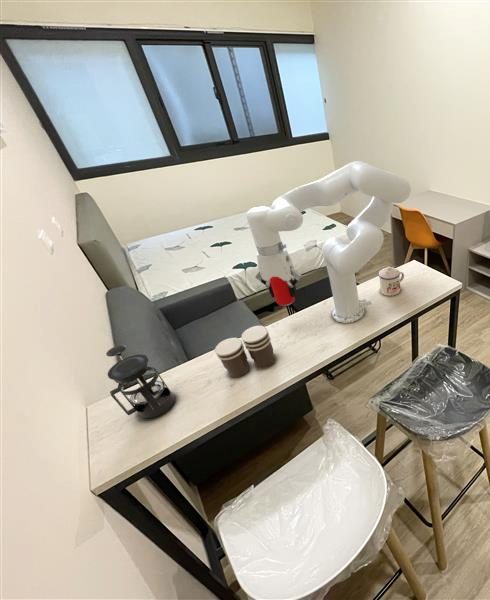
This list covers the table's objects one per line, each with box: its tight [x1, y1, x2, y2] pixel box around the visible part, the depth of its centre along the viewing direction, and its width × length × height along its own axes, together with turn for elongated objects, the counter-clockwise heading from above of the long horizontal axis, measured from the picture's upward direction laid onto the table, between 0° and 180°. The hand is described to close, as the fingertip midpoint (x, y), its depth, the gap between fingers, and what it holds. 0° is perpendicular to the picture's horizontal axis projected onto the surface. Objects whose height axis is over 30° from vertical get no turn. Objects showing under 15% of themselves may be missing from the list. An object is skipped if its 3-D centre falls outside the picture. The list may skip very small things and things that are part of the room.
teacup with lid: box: [378, 266, 405, 297], centre depth 138 cm, size 12×9×12 cm
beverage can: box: [270, 277, 296, 307], centre depth 109 cm, size 6×6×12 cm
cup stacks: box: [214, 325, 276, 379], centre depth 104 cm, size 16×8×12 cm, turn 116°
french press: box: [105, 344, 177, 421], centre depth 88 cm, size 12×9×23 cm
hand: (284, 295), depth 111 cm, fingers closed on beverage can, 6 cm apart
